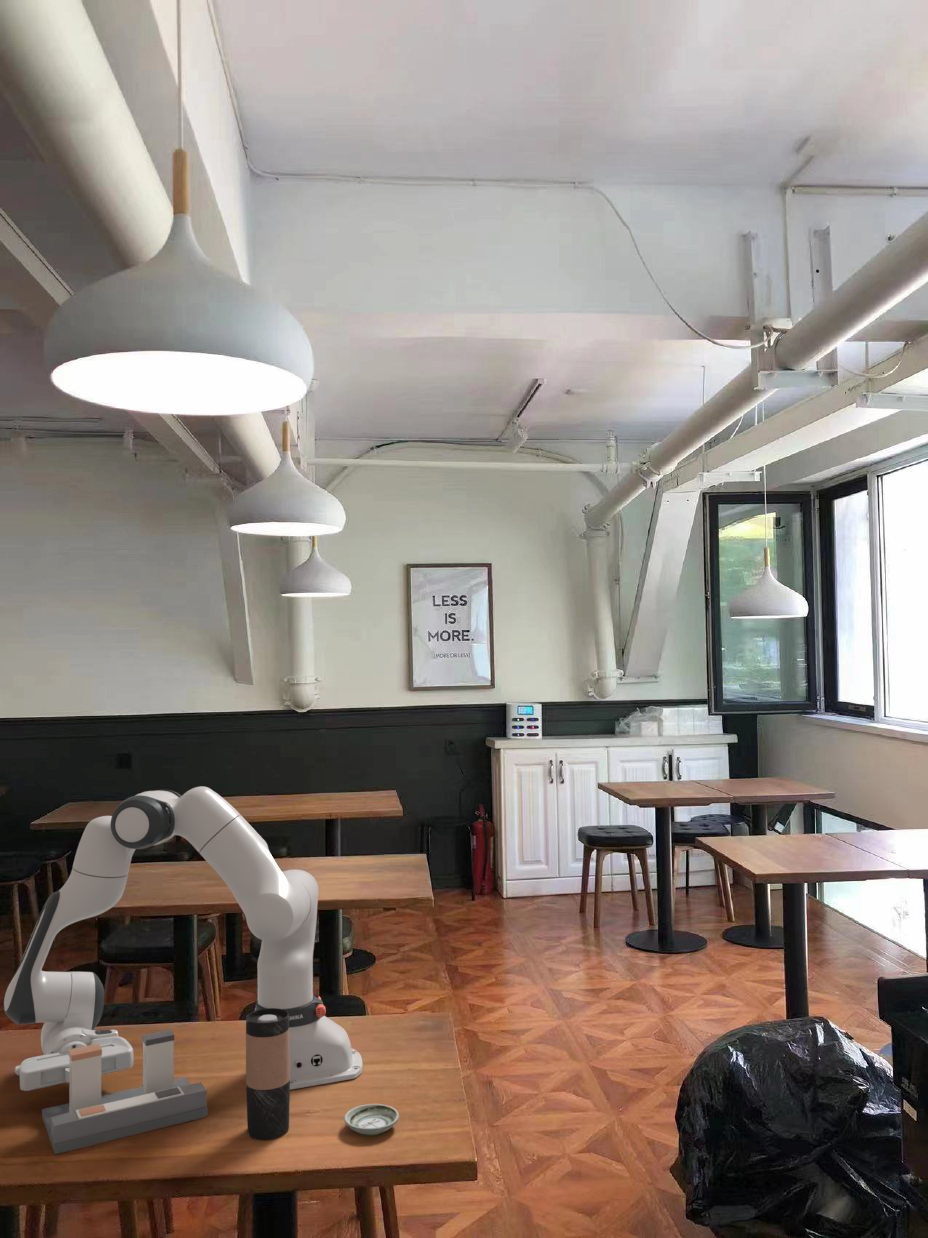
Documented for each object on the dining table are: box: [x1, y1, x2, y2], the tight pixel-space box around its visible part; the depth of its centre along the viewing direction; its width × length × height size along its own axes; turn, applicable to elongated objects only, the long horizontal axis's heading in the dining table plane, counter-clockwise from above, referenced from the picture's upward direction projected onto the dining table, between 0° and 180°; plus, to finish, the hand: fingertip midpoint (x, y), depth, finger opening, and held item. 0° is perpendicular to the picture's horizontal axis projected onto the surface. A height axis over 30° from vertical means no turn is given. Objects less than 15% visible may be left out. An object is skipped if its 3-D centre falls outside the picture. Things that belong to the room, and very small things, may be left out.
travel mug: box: [245, 1008, 291, 1141], centre depth 174 cm, size 8×8×20 cm
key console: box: [41, 1076, 209, 1155], centre depth 180 cm, size 26×16×5 cm, turn 120°
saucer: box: [343, 1103, 400, 1136], centre depth 174 cm, size 10×10×2 cm
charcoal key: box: [141, 1029, 175, 1095], centre depth 185 cm, size 3×5×11 cm, turn 120°
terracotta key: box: [68, 1044, 102, 1112], centre depth 179 cm, size 3×5×11 cm, turn 120°
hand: (83, 1079), depth 181 cm, fingers closed
